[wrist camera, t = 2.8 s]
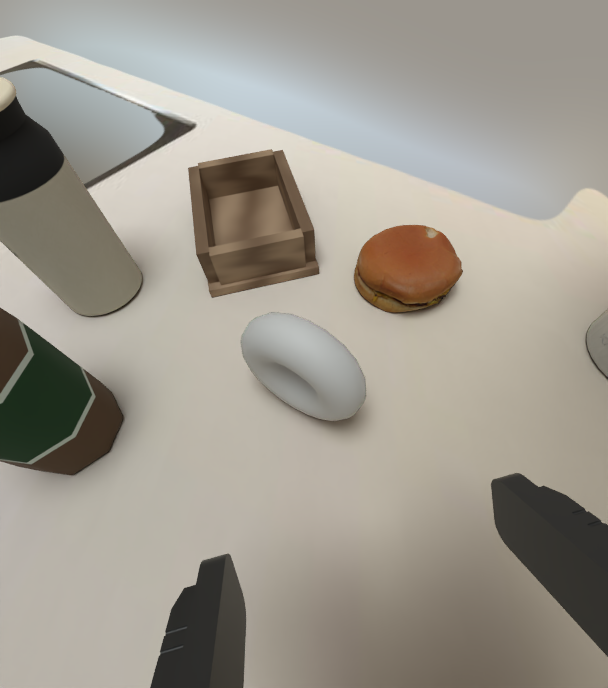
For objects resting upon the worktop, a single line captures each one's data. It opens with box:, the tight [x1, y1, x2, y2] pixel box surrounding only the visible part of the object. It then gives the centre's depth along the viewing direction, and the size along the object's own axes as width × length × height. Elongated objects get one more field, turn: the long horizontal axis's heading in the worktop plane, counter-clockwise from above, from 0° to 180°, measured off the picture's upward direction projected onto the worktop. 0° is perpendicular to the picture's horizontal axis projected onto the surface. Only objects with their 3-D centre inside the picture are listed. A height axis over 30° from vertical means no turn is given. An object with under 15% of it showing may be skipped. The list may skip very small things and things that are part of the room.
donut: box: [241, 312, 366, 421], centre depth 24 cm, size 10×3×10 cm, turn 58°
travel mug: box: [0, 77, 142, 316], centre depth 29 cm, size 8×8×18 cm
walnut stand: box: [188, 149, 319, 297], centre depth 38 cm, size 12×17×5 cm
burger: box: [354, 225, 463, 312], centre depth 33 cm, size 10×9×5 cm
